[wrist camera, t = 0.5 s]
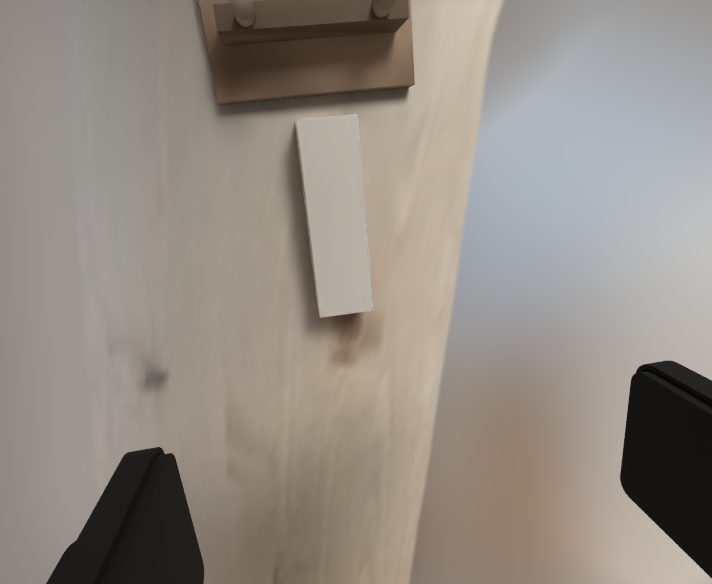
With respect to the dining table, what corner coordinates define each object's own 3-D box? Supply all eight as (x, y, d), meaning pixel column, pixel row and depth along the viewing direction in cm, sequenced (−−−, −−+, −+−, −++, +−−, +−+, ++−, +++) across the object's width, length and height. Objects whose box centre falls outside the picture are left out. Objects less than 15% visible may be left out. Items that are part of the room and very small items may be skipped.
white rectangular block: (294, 123, 28) (296, 118, 24) (348, 118, 28) (357, 113, 24) (315, 298, 32) (320, 317, 28) (362, 292, 32) (373, 310, 28)
